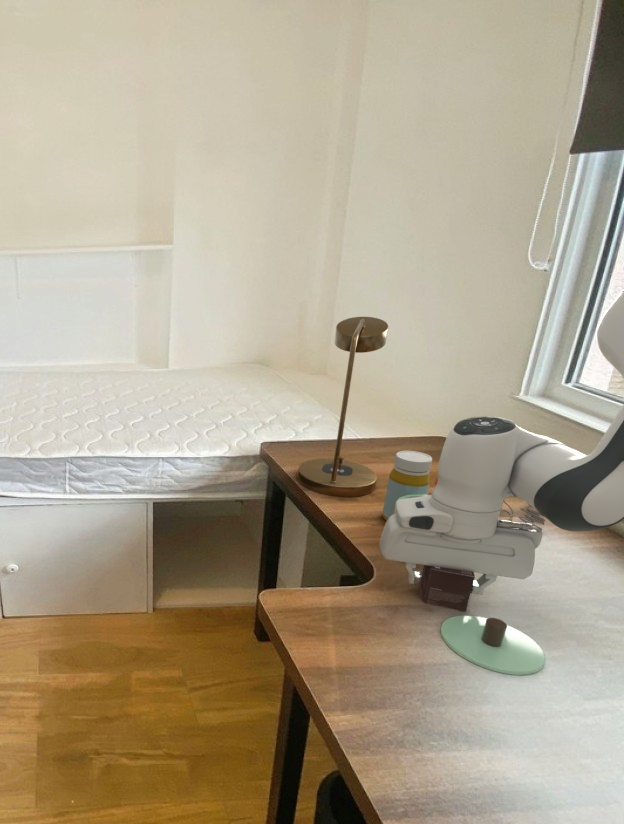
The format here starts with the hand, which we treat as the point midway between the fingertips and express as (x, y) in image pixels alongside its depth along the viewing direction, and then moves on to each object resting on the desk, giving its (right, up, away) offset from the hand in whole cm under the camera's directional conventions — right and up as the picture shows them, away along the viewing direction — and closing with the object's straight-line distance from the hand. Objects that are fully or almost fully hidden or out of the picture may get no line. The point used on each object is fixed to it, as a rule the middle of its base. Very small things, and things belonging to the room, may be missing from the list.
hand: (443, 587), depth 93 cm
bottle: (+10, +8, +25) cm, 28 cm away
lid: (-1, -6, -10) cm, 12 cm away
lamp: (+9, +17, +48) cm, 51 cm away
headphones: (+29, +10, +27) cm, 41 cm away
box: (0, -2, +1) cm, 3 cm away
